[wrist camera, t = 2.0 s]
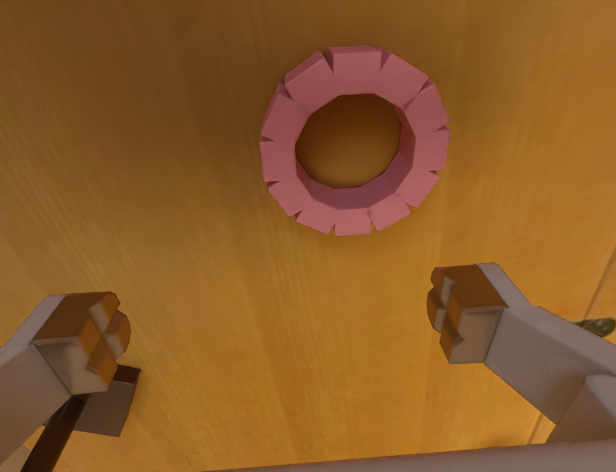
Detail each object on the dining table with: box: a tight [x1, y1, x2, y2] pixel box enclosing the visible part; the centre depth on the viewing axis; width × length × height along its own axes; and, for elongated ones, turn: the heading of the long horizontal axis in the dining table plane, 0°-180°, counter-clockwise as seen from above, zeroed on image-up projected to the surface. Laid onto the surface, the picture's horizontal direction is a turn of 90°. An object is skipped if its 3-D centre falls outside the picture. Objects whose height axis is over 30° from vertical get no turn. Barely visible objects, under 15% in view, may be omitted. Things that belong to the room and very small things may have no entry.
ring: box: [259, 45, 451, 236], centre depth 20 cm, size 10×10×3 cm
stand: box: [20, 365, 140, 472], centre depth 27 cm, size 9×9×14 cm
